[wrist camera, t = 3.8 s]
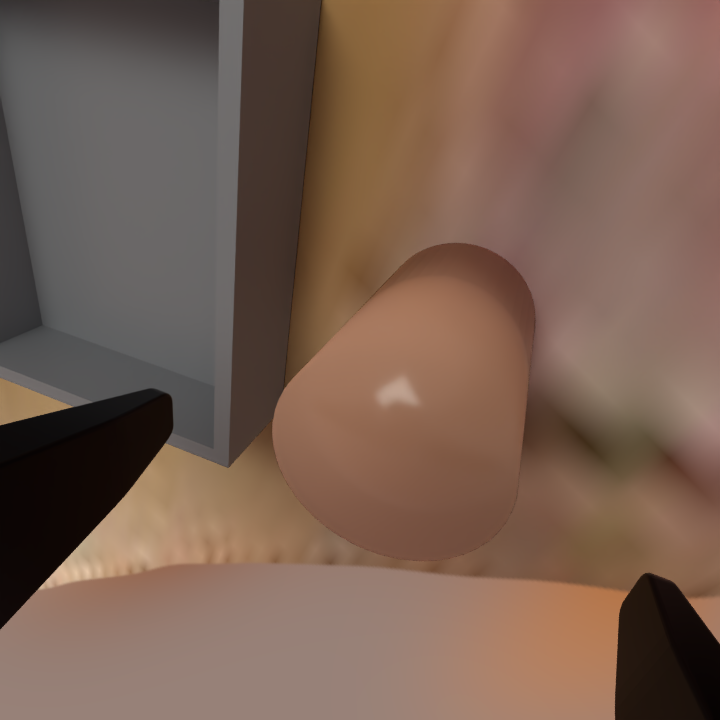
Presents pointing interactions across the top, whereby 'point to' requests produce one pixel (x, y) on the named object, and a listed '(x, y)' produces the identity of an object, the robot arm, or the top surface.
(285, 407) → the terracotta cylinder
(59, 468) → the robot arm
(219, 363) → the bin
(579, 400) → the top surface
